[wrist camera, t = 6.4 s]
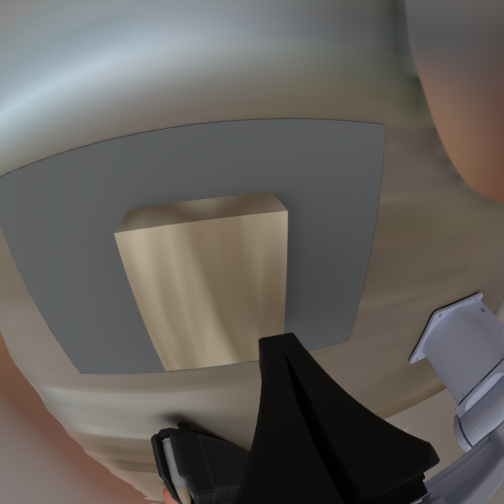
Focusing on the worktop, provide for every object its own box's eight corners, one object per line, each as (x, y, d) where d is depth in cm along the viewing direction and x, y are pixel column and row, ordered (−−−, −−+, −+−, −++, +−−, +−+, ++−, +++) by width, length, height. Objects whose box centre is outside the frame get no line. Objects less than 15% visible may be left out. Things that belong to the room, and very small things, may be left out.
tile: (287, 210, 11) (114, 233, 10) (282, 355, 15) (165, 371, 14) (272, 191, 13) (127, 210, 12) (272, 326, 17) (167, 340, 17)
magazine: (289, 503, 31) (223, 572, 9) (272, 507, 32) (190, 570, 9) (262, 427, 43) (172, 416, 20) (246, 432, 43) (144, 421, 20)
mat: (382, 124, 12) (385, 124, 12) (346, 338, 20) (348, 340, 20) (-9, 180, 9) (-11, 182, 9) (81, 370, 17) (80, 373, 17)
